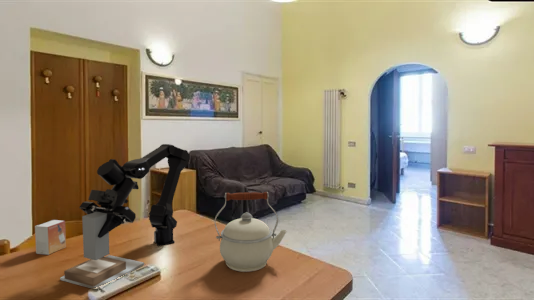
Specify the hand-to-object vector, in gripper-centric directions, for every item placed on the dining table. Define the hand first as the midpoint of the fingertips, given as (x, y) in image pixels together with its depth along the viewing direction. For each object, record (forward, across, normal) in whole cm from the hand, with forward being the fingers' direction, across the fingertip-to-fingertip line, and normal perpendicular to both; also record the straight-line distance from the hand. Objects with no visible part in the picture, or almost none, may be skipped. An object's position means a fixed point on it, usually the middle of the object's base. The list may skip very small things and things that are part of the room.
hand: (92, 236), depth 97 cm
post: (+4, 0, +6) cm, 7 cm away
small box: (+3, -33, +17) cm, 37 cm away
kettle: (-10, +41, +30) cm, 51 cm away
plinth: (+6, 0, +13) cm, 14 cm away
